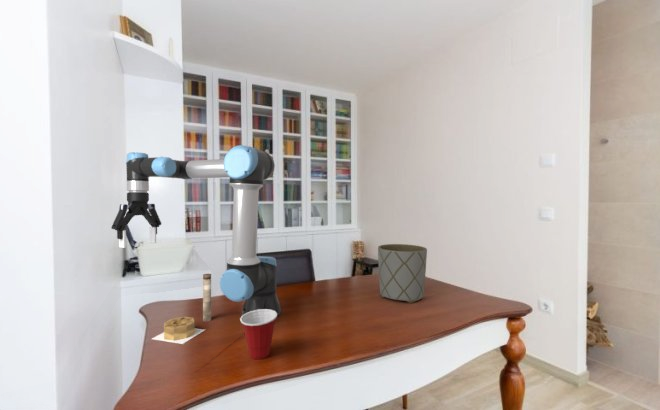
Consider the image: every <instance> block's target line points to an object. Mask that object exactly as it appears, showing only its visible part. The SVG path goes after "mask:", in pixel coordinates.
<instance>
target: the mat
mask: <svg viewBox="0 0 660 410" xmlns="http://www.w3.org/2000/svg"><path fill="white" fill-rule="evenodd" d="M203 332H205V329H202V328H196V327H195V334H193V335H191V336H190V337H188V338H186V339H180V340H175V341H172V340H166V339H164V331H163V332H162V333H160V334H157V335H155V336H154V337H152V338H151V340H154V341H163V342H168V343H174V344H181V345H184V344H185V343H187V342H188V341H190V340H192V339H193V338H194V337H196V336H198V335H199V334H201V333H203Z"/></svg>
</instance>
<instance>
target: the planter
mask: <svg viewBox="0 0 660 410" xmlns="http://www.w3.org/2000/svg"><path fill="white" fill-rule="evenodd" d="M427 254H428V249H427V247H425V246H420V245H417V244H416V245H414V244H403V243H401V244H399V243H390V244H389V243H387V244H382V245H378V246H377V258H378V259H377V260H378V264H377V265H378V280H379V281H378V283H379V294H380V297H381V298H382V299H384V298H388V299H391V300H395V301H402V302H403V301H404V302H407V303H408V304H412V303H415V302H418V301H419V300H422V299H423V298H424V294H425V283H426V271H427V270H426V269H427V258H428V255H427Z"/></svg>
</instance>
